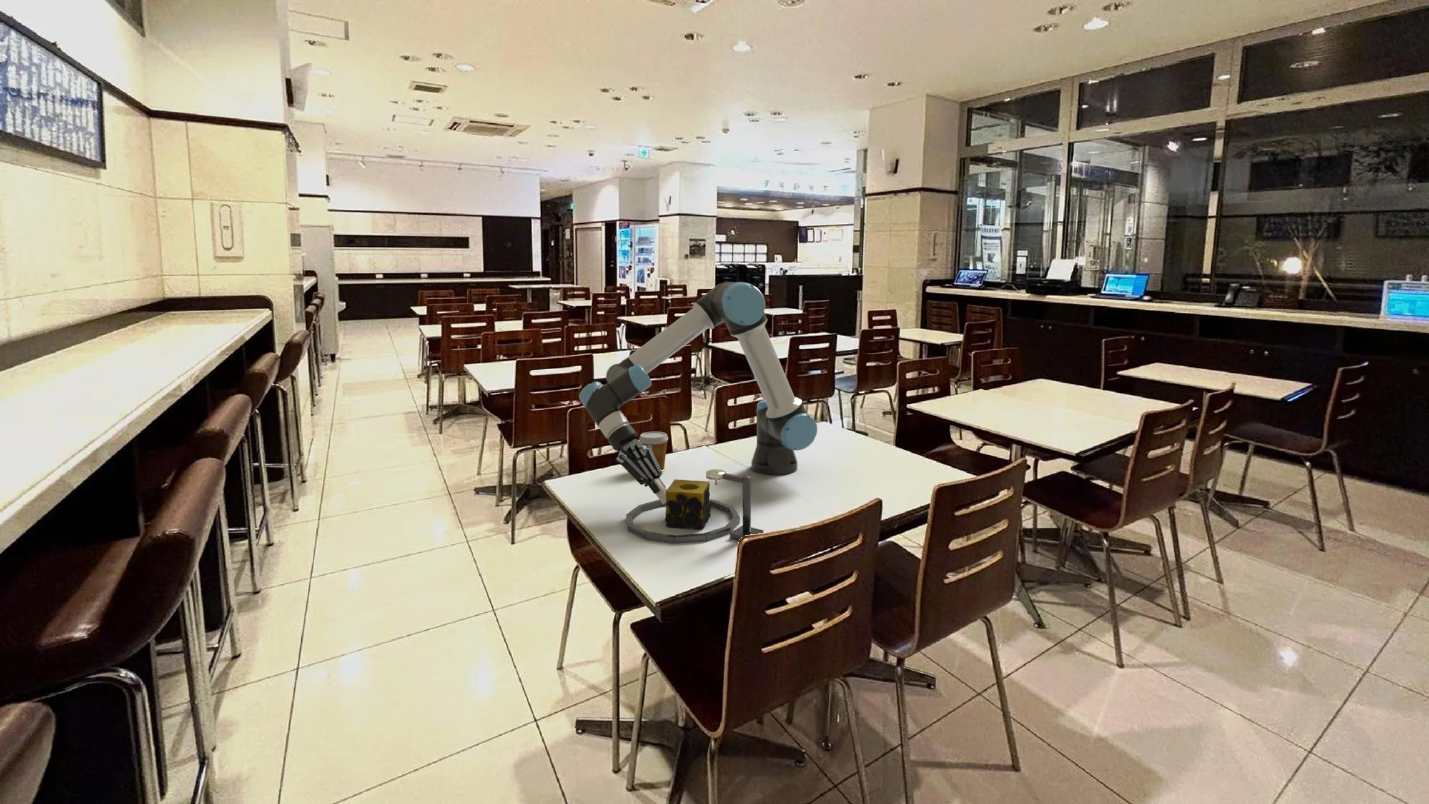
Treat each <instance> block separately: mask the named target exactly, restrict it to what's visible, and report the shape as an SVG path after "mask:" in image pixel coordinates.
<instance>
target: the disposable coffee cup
mask: <svg viewBox="0 0 1429 804" xmlns="http://www.w3.org/2000/svg"><path fill="white" fill-rule="evenodd" d="M638 440H639V441H640V442H641V443H642V444H643V445H644V446H648V445H651V446H652V452H653V454H654V456H655V458H656V460H657V462H658V464H659V466H660V468H661V470H663V469H664V470H665V464H666V456H667V455H666V454H667V445H668V440H669V437H668V434H667V433H666V432H662V431H647V432H642V433H640V436H639V438H638Z"/></svg>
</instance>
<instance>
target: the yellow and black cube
mask: <svg viewBox="0 0 1429 804" xmlns="http://www.w3.org/2000/svg"><path fill="white" fill-rule="evenodd" d="M710 486H711V481H708V480H705V481H704V480H693V479H692V480H690V479H677V478H676V479H673V480H672V483H670V486H669V487H668V488H667V489H666V506H665V518H664V519H665V520H664V521H665V528H672V529H685V530H700V531H701V530H703V529H704V528H705V527H706V525H707V523H708V521H709V520H710V518H711V517H712V515H711V514H712V513H711V510H712V508H711V506H710V496H711V494H710V493H711V492H710Z"/></svg>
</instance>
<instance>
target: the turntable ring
mask: <svg viewBox="0 0 1429 804" xmlns="http://www.w3.org/2000/svg"><path fill="white" fill-rule="evenodd" d="M709 499H710V498H709ZM664 506H665V507H666V504H664V505H663V504H662V502H661V501H660V500H659V499H656V500H653V501H649V502H648V501H647V502H646V503H641V504H638V505H637V506H636V507H634V508H633V509H632V510H630V511H629V512H627V513H626V514H625V522H626V527H627V531H628V532H629V533H632V534H634V535H636V536H638V537H639V538H642V539H644V540H646V541H652V542H660V543H667V544H687V543H701V542H708V541H711V540H715V539H717V538H720V537H723V536H727V535H730V532H732V531H734V530H736V529H737V526H738V525H740V523H741V516H740V515H739V513H738V511H737V509H736V508H735V507H734V506H732V505H730V504H728V503H725V502H722V501H720V500H717V499H713V498H711V499H710V506H711V507H713V508H714V509H717V510H720V511H722V512H724V513H728V514H729V516H730V518H731V519H730V521H729V522H728V523H726V525H725V526H721V527H718V528H715V529H712V530H710V531H706V532H704V533H703V532H702V533H701V532H700V533H699V532H698V533H689V534H687V533H686V534H676V535H675V534H668V533H667V534H666V533H660V532H653V531H648V530H646V529H644V528H643V527H640V526H639V525H637V524H634V519H635V518H637V517H638V516H639V515H641V514H642V513H644V512H647V511H649V510H654V509H658V508H660V507H664Z"/></svg>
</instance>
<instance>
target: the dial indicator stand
mask: <svg viewBox="0 0 1429 804" xmlns="http://www.w3.org/2000/svg"><path fill="white" fill-rule="evenodd" d="M705 477H706V479H708V480H711V481H714V485H715V486H717V485H718V481H720V480H726V481H729V482H730V481H731V482H734V483H735V482H736V483H740V484H742V525H741V526H739V527H738V528H737V527H736V528H735V529H734V530H733V531H732V532H730V534H729V539H730V540H734V541H738V540H739V539H740V538H741V537H744V536H745V535H750V534H758V533H763V532H765V531H764V530H765V529H764V530H763V529H759V528H756V527H752V510H751V509H752V477H751V475H737V474H732V473H727V471H726V470H723V469H716V468H715V469H709V470H707V471H705ZM738 542H739V541H738Z"/></svg>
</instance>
